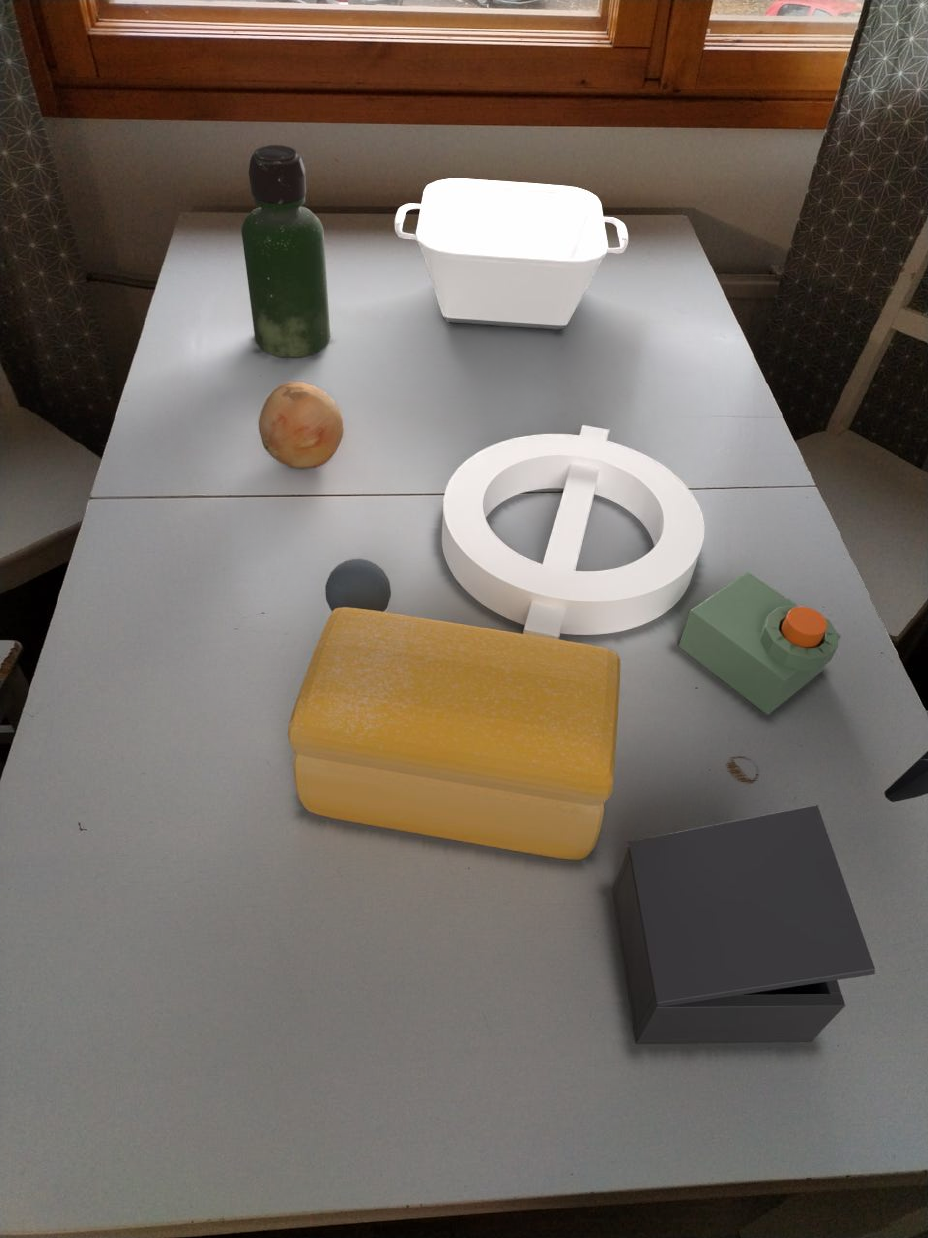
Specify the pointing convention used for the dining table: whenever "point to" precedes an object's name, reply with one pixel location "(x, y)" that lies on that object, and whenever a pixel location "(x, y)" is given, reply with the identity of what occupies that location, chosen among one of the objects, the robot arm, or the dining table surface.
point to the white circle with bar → (571, 534)
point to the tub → (510, 249)
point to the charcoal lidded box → (721, 1018)
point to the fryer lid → (746, 908)
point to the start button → (804, 627)
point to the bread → (457, 732)
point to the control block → (754, 643)
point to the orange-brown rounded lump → (300, 425)
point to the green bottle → (285, 258)
